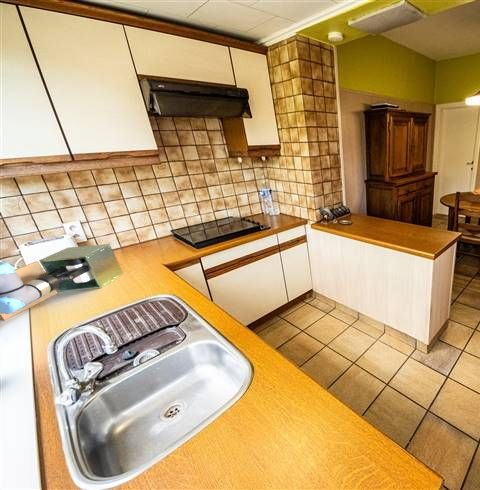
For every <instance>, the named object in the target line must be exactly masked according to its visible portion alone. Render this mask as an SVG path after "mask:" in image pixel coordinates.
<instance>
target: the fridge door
mask: <svg viewBox="0 0 480 490" xmlns="http://www.w3.org/2000/svg"><path fill="white" fill-rule="evenodd" d="M14 270H15V271H16V273H17V274H18V276H19V277H20V279H21V280H22V282H23V284H26V283H28V282H30V281H32V280H34V279H36V278H38V277H40V276H43V275H46V274H47V273H46V271H45V269H44V268H43V266H42V265H41V263H40V261H33V262H31V263H28V264H26V265H23V266H20V267H17V268H14ZM58 294H59V292H58V291H57V289H55V290H53V291H52V292H49V293H48V294H46V295H44V296H43V297H42V298H41V299H37V300H35V301H34V302H32V303H30V304H29V305H27V306H25V307H24V308H22V309H20V310H18V311H16V312H14V313H11V314H2V313H0V319H1V321H6V320H9V319H10V318H12V317H14V316H16V315H18V314H20V313H22V312H25V311H26V310H28V309H30V308H32V307H34V306H36V305H38V304H40V303H42V302H44V301H46V300H48V299H50V298H52V297H54V296H56V295H58Z"/></svg>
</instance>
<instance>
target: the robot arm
mask: <svg viewBox="0 0 480 490" xmlns="http://www.w3.org/2000/svg"><path fill="white" fill-rule="evenodd" d="M66 271H67V272H66ZM88 271H90V269H89V267H88V265H87V266H85V265H84V266H81V267H79V268H76V269H74V270H71V271H68V270H67V268H66V266H65V267H63V266H61V267H60V269H59V268H57V269H55V270H53V271H51V272H49V273H48V274H47V273H46V275H43V276H40V277H38V278H36V279H34V280H32V281H30V282H28V283H26V284H23V282H22V280H21V279H20V277H19V276H18V274H17V273H16V271H15V268H14V267H13V266H12V265H11V264H10V263H9V262H6V261H0V313H2V314H11V313H14V312H16V311H18V310H20V309H22V308H24V307H25V306H27V305H29V304H30V303H32V302H34V301H35V300H37V299H41V298H42V297H43V296H44V295H46V294H48V293H49V292H52V291H53V290H55V289H56V290H57V288H58V287H59V285H60V283H61V282H64V281H65V280H67V279H69V280H73V279H75V278H76V277H78V276H80V275H82V274H84V273H86V272H88ZM65 274H66V275H65ZM66 276H67V277H66Z"/></svg>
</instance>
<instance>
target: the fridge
mask: <svg viewBox="0 0 480 490" xmlns="http://www.w3.org/2000/svg"><path fill="white" fill-rule="evenodd" d="M82 258H84V259H85V261H86V263H87V265H88V267H89V269H90V271H91V272H92V274H93V276H94V278H95V279H92V280H89V281H87V282H81V283H75V282H74V280H69V279H67V280H65V281H64V282H61V283H60V285H59V287H58V288H57V289H56V291H57V293H65V292H67V293H68V292H76V291H77V292H79V291H88V290H97V289H98V290H99V289H103V288H105V287H106V286H108V285H110V284H111V283H112V282H113V281H115V280H116V279H118V278H120V277H121V276H122V275H124V271H123V269H122V267H121V265H120V263H119V260H118V258H117V257H116V255H115V252H114V251H113V249H112V246H111V245H110V243H105V244H95V245H82V246H70V247H65V248H63V249H61V250H59V251H57V252H55V253H52V254H50V255H48V256H46V257H43V258H41V259H39V260H38V262H39V264H40V265H41V267H42V268H43V270H44V272H45V273H46V274H48V273H49V272H51V271H53V270H55V269H57V268H59V269H60V267H61V266H63V267H65V266H66V264H65V262H64V260H70V259H82ZM66 272H67V271H66ZM65 275H66V274H65ZM66 277H67V276H66Z"/></svg>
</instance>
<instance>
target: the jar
mask: <svg viewBox="0 0 480 490" xmlns="http://www.w3.org/2000/svg"><path fill="white" fill-rule="evenodd" d="M64 262H65V264H66V268H67V270H68V271H71V270H74V269H76V268H79V267H81V266H84V265H85V266H87V263H86V261H85V259H84V258H82V259H70V260H64ZM92 279H95V278H94V276H93V274H92V272H91V271H88V272H86V273H84V274H82V275H80V276H78V277H76V278H75V279H73V280H74V282H75V283H81V282H87V281H89V280H92Z"/></svg>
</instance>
